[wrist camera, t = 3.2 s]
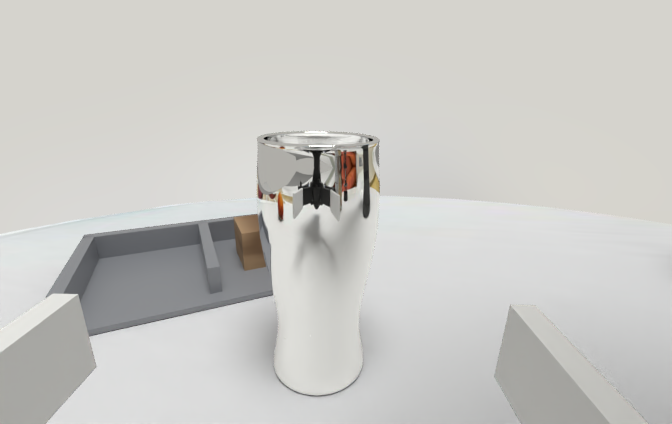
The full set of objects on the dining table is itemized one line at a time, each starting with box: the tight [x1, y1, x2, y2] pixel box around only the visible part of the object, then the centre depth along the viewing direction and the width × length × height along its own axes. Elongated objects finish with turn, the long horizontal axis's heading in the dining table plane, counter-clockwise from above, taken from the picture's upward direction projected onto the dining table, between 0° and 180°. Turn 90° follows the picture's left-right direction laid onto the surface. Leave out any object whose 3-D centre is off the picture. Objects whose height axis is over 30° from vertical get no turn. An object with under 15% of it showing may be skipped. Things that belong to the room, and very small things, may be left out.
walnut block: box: [234, 214, 266, 271], centre depth 36 cm, size 5×5×4 cm
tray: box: [46, 214, 273, 336], centre depth 34 cm, size 23×14×3 cm, turn 115°
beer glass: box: [257, 131, 380, 395], centre depth 21 cm, size 7×7×15 cm
